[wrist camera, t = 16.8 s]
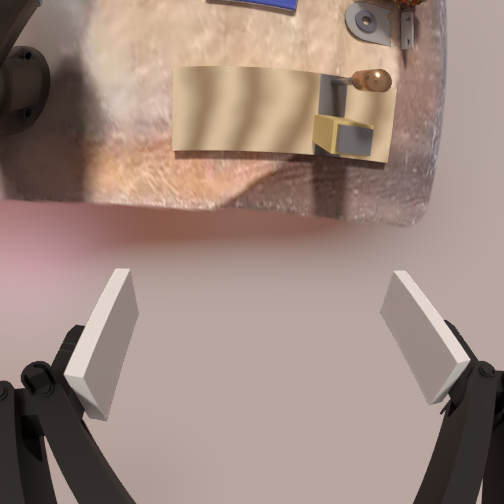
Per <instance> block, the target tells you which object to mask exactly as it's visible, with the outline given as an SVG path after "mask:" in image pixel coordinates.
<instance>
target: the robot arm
mask: <svg viewBox="0 0 504 504" xmlns="http://www.w3.org/2000/svg"><path fill="white" fill-rule="evenodd" d="M42 2H43V0H0V135H10V134H14V133H17V132H20V131H23V130H24V129H26V128H28V127H29V126H30V125H31V124H32V123H33V122H34V121H35V120H36V119H37V117H38V116H39V115H40V113H41V111H42V109H43V107H44V105H45V102H46V99H47V96H48V92H49V84H50V75H49V68H48V65H47V62H46V60H45V58H44V56H43V55H42V54H41V53H40V52H39V51H38V50H37V49H35V48H33V47H28V46H15V47H13V45H14V44H15V42H16V40H17V38H18V37H19V35H20V33H21V32H22V30H23V29H24V27H25V25H26V24H27V22H28V21H29V19H30V18H31V16H32V15H33V13H34V12H35V10H36V9H37V7H40V6H41V4H42ZM380 313H381V315H382V317H383V319H384V320H385V322H386V324H387V326H388V327H389V329H390V331H391V333H392V335H393V336H394V338H395V340H396V342H397V344H398V346H399V348H400V350H401V351H402V353H403V355H404V357H405V359H406V361H407V363H408V365H409V367H410V369H411V371H412V373H413V374H414V377H415V378H416V381H417V382H418V384H419V387H420V388H421V391H422V392H423V395H424V397H425V399H426V401H427V403H428V405H432V404H436V403H439V402H442V401H443V399H444V398H445V397H446V395H447V394H449V396H450V398H451V399H450V400H449V401H448V403H447V404H446V405H445V407H444V408H443V409H442V411H441V412H440V414H442V413H443V412H444V411H445V410H446V411H445V415H444V419H443V422H442V426H441V429H440V432H439V436H438V439H437V442H436V445H435V448H434V451H433V454H432V457H431V460H430V463H429V466H428V468H427V471H426V473H425V476H424V479H423V481H422V484H421V486H420V488H419V491H418V493H417V496H416V498H415V500H414V502H413V504H476V501H477V497H478V494H479V490H480V486H481V482H482V478H483V487H482V504H504V371H496V370H495V369H494V367H493V366H492V365H491V364H489V363H487V362H485V361H478V359H477V358H476V356H475V355H474V353H473V352H472V351H471V349H470V348H469V346H468V345H467V343H466V342H465V341H464V339H463V338H462V336H461V335H460V334H459V332H458V331H457V329H456V328H455V326H454V325H452V324H451V323H450V322H448V321H447V320H443V319H442V318H441V316H440V315H439V314H438V312H437V311H436V310H435V308H434V307H433V306H432V304H431V303H430V302H429V300H428V299H427V298H426V296H425V295H424V294H423V293H422V291H421V290H420V289H419V287H418V286H417V285H416V283H415V282H414V281H413V280H412V278H411V277H410V276H409V275H408V273H406V271H393V274H392V278H391V281H390V284H389V287H388V290H387V293H386V296H385V299H384V302H383V305H382V308H381V311H380ZM138 315H139V313H138V307H137V302H136V297H135V292H134V287H133V282H132V276H131V270H130V269H115V271H114V273H113V274H112V276H111V278H110V280H109V282H108V284H107V285H106V287H105V289H104V291H103V293H102V295H101V297H100V299H99V301H98V303H97V305H96V306H95V308H94V310H93V312H92V314H91V316H90V318H89V320H88V322H87V324H86V326H80V325H75V326H74V327H73V328H72V329H71V330H70V331H69V332H68V333H67V335H66V337H65V339H64V341H63V343H62V345H61V347H60V350H59V351H58V353H57V355H56V357H55V359H54V361H53V363H52V365H51V366H50V365H49V364H48V363H46V362H44V361H36V362H32V363H31V364H29V365H27V366H26V367H25V369H24V370H23V371H22V374H21V382H22V383H23V385H24V387H25V388H21V389H14V387H13V386H12V384H11V383H10V382H8V381H0V504H57V500H56V497H55V493H54V489H53V484H52V480H51V475H50V470H49V465H48V460H47V454H46V448H45V442H44V436H46V438H47V441H48V443H49V445H50V448H51V450H52V452H53V454H54V457H55V459H56V461H57V463H58V465H59V467H60V470H61V471H62V474H63V475H64V477H65V479H66V481H67V483H68V485H69V487H70V489H71V491H72V492H73V494H74V496H75V498H76V500H77V502H78V503H79V504H136V503H135V501H134V500H133V499H132V497H131V496H130V495H129V493H128V492H127V491H126V489H125V488H124V486H123V485H122V483H121V482H120V481H119V479H118V477H117V476H116V474H115V473H114V471H113V470H112V468H111V467H110V465H109V464H108V462H107V460H106V459H105V457H104V456H103V454H102V452H101V451H100V449H99V447H98V446H97V444H96V442H95V440H94V439H93V437H92V435H91V433H90V431H89V430H88V428H87V426H86V424H85V422H84V421H83V419H82V417H83V414H84V411H85V412H86V413H87V415H88V416H89V418H92V419H98V420H103V421H107V419H108V414H109V411H110V407H111V403H112V400H113V396H114V392H115V389H116V385H117V381H118V378H119V375H120V371H121V368H122V364H123V361H124V358H125V355H126V351H127V348H128V345H129V342H130V339H131V336H132V333H133V330H134V327H135V324H136V321H137V318H138Z"/></svg>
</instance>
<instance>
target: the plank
mask: <svg viewBox="0 0 504 504" xmlns="http://www.w3.org/2000/svg"><path fill="white" fill-rule="evenodd" d="M339 78H345V77H339V76H333V75H327V74H320V73H312V72H304V71H295V70H285V69H273V68H258V67H232V66H198V67H173V100H172V146H173V151H180V150H229V151H262V152H282V153H298V154H311V155H323V156H334V157H343V158H353V159H361V160H369V161H377V162H385V163H387V162H388V155H389V149H390V142H391V134H392V126H393V118H394V109H395V99H396V89H397V88H393V87H391V88H390V89H389V90H388V91H386V92H367V91H359V90H357V89H356V88H355V87H354V86H353V85H342V86H333V85H332V84H331V80H332V79H339ZM314 114H319V115H327V116H335V117H343V118H349V119H352V120H356V121H359V122H363V123H366V124H370V125H373V126H374V127H373V130H374V131H373V139H372V147H371V154H370V157H369V158H367V157H359V156H350V155H341V154H331V153H329V152H328V151H326V150H325V149H323V148H322V147H320V146H319V145H317V144H316V143H314V142H312V136H313V125H314Z"/></svg>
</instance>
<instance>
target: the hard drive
mask: <svg viewBox="0 0 504 504" xmlns="http://www.w3.org/2000/svg"><path fill="white" fill-rule="evenodd" d="M225 1H234V2H243V3H250V4H257V5H263V6H269V7H274V8H280V9H285V10H289V11H295V9H296V4H297V0H225Z"/></svg>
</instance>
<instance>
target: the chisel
mask: <svg viewBox="0 0 504 504" xmlns="http://www.w3.org/2000/svg"><path fill="white" fill-rule="evenodd" d="M331 84H332V85H333V86H342V85H353V86H354V87H355V88H356V89H357V90H359V91H367V92H386V91H388V90H389V89H390V88H391V85H392V80H391V77H390V75H389V74H388V72H386V71H385V70H382V69H374V70H364V71H357V72H355V73H354V74H353V76H352V77H351V78H339V79H332V80H331Z"/></svg>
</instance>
